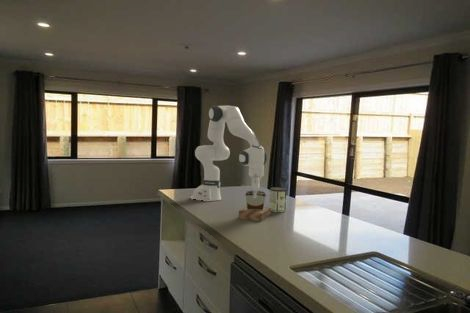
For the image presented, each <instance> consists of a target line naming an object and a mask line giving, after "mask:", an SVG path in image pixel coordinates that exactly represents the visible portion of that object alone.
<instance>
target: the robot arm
mask: <svg viewBox="0 0 470 313" xmlns="http://www.w3.org/2000/svg"><path fill="white" fill-rule="evenodd" d="M208 118H209V123H208V129H207V139H208V140H209V141H210V142H212V143H213V144H209V145H208V144H207V145H206V144H204V145H199V146H197V147H196V148H195V150H194V156H195V158H196V159H197V160H198V161H199V162H200V163H201V164H202V167H203V172H204V174H203V175H204V177H203V179H202V180H201V181H200V183H201V184H200V185H199V186H197V187H196V188H195V189H194V190H193V194H192V195H191V196H190V197H189V199H190V198H191V199H190V200H193V199H196V200H195V201H201V200H203V202H214V201H215V202H216V201H220V200H222V196H221V189H220V188H221V179H220V178H221V174H220V173H221V170H220V168H219V167H218V165H215V164H214V161H225V160H227V159H228V158H230V154H231V151H230V148H229V147H228V146H227V145H226V144H225V141H224V134H225V126H227V129H228V131H229V132H230V134H232V135H233V136H234V137H238V138H241V139H242V140H245V141H246V142H248V144H249V146H250V147H248V148H247V149H243V150H241V151H240V152H239V154H238V161H239V164H240V165H241V166H244V167H248V176H249V177H250V179H251V191H253V195H254V196H253V198H257V191H259V190H260V189H259V188H260V185H261V180H262V178H263V177H264V176H265V166H264V165H266V163H267V161H268V154H267V152H266V151H265V148H264V147H263V146H262V145H261V144H260V142H259V139H258V138H257V136H256V134H255V132H254V131H253V129H251V128H250V127H249V126H248V124H247V123H246V122H245V119H244V117H243V115H242V113H241V110H240V108H239V107H238V106H236V105H235V106H234V105H213V106H211V107H210V108H209V110H208ZM225 124H226V125H225Z"/></svg>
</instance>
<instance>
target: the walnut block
mask: <svg viewBox="0 0 470 313" xmlns="http://www.w3.org/2000/svg"><path fill="white" fill-rule="evenodd" d="M271 212H272V211H271V208H270V207H265V206H264V207H263V210H250V209H247V206H245V207H243V208H241V209H239V210H238V219H241V220H248V221H249V220H250V221H257V222H263V221H265V220H266V219H268V217H270V216H271V214H272V213H271Z"/></svg>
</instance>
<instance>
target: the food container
mask: <svg viewBox="0 0 470 313" xmlns="http://www.w3.org/2000/svg"><path fill="white" fill-rule="evenodd" d="M245 196H246V201H245V202H246V207H247V209H250V210H263V207H265V200H266V199H265V198H266V197H267V194H266V192H265V191H261V190H258V191H257V198H253V196H254V195H253V191H252V190H248V191H246V193H245V194H244V197H245Z"/></svg>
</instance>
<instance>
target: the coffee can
mask: <svg viewBox="0 0 470 313" xmlns="http://www.w3.org/2000/svg"><path fill="white" fill-rule="evenodd" d="M269 192H270V194H269V196H270V198H269V208H271V212H274V213H284V212H286V210H287V208H286V207H287V188H285V187H280V186H279V187H278V186H276V187H274V186H273V187H270V191H269Z"/></svg>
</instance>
